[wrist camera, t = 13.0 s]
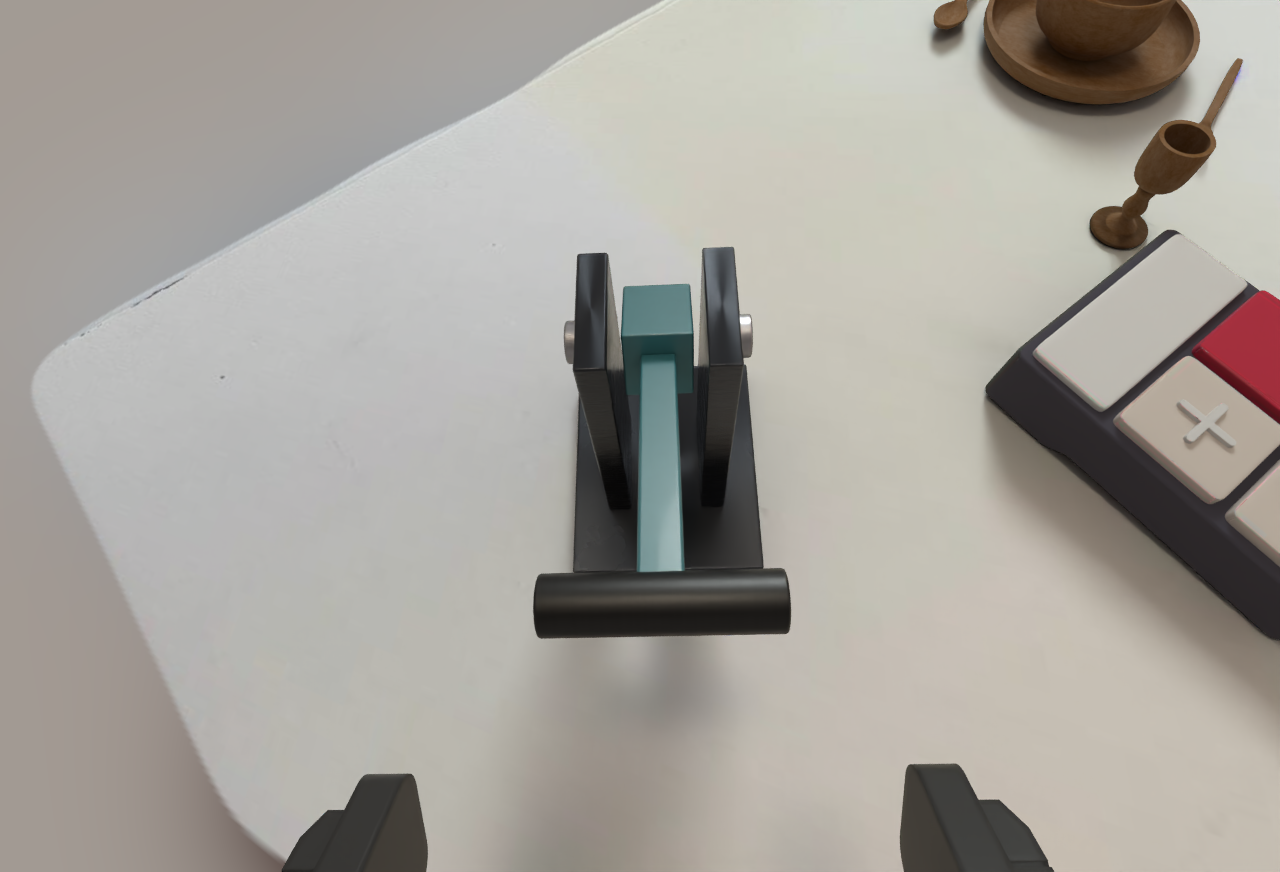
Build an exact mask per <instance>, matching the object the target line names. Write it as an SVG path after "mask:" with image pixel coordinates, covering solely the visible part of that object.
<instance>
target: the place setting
mask: <svg viewBox="0 0 1280 872" xmlns="http://www.w3.org/2000/svg"><path fill="white" fill-rule="evenodd" d="M967 1H968V0H955V1H952V2H949V3H946V4H943V5H942V6H940V7H939V8H938V9H937V10H936V11H935V14H934V24H935V26H936V27H938V28H941V29H950V28H953V27H955V26H957V25H959V24H961V23H962V22H963V21H964V20H965V19H966V17H967V14H968V10H967V5H966V4H967ZM984 36H985V39H986V43H987V46H988V48H989V50H990V52H991V54H992V56H993V57H994V58H995V60H996V61H997V63H998V64H999V65H1000V66H1001V67H1002V68H1003V69H1004V70H1005V71H1006V72H1007V73H1008V74H1009V75H1011V76H1012V77H1013V78H1014V79H1016V80H1017V81H1019V82H1020V83H1022V84H1023V85H1025V86H1027V87H1029V88H1031V89H1033V90H1035V91H1037V92H1040V93H1042V94H1044V95H1047V96H1050V97H1053V98H1057V99H1061V100H1065V101H1069V102H1076V103H1083V104H1114V103H1123V102H1128V101H1132V100H1137V99H1140V98H1143V97H1146V96H1149V95H1151V94H1153V93H1155V92H1157V91H1159V90H1161V89H1163V88H1165V87H1166V86H1168V85H1169V84H1171V83H1172V82H1173V81H1175V80H1176V79H1177V78H1178V77H1179V76H1180V75H1181V74H1182V73H1183V72H1184V71H1185V70H1186V69H1187V67H1188V66H1189V64H1190V63H1191V62H1192V60H1193V59H1194V58H1195V56H1196V53H1197V51H1198V48H1199V43H1200V32H1199V28H1198V25H1197V22H1196V20H1195V18H1194V16H1193V14H1192V13H1191V11H1190V10H1189V8H1188V7H1187V6H1186V5H1185V4H1184V3H1183V2H1182V1H1181V0H990V1H989V3H988V6H987V8H986V12H985V17H984ZM1242 61H1243V60H1242V59H1239V58H1238V59H1237V60H1236V61H1235V62H1234V63H1233V65H1232V66H1231V68H1230V70H1229V71H1228V73H1227V75H1226V77H1225V78H1224V80H1223V82H1222V84H1221V86H1220V88H1219V90H1218V92H1217V94H1216V96H1215V98H1214V100H1213V102H1212V104H1211V105H1210V107H1209V109H1208V111H1207V113H1206V115H1205V117H1204V119H1203V120H1202V121H1201V122H1200V123H1199V124H1198V123H1195V122H1192V121H1186V120H1175V121H1171V122H1168V123H1166V124H1164V125H1163V126H1162V127H1161V128H1160V130H1159V131H1158V132H1157V133H1156V135H1155V136H1154V137H1153V139H1152V140H1151V142H1150V143H1149V145H1148V146H1147V147H1146V149H1145V150H1144V152H1143V154H1142V155H1141V157H1140V159H1139V160H1138V162H1137V165H1136V167H1135V172H1134V176H1135V180H1136V183H1137V184H1138V185H1139V187H1138V190H1137V192H1136V193H1135V194H1134V195H1133V196H1131V197H1129V198H1128V199H1127V200H1126V201H1125V202H1124V204H1123V206H1122V207H1118V206H1109V207H1104V208H1101V209H1099V210H1098V211H1096V212H1095V213H1094V214H1093V216H1092V218H1091V221H1090V228H1091V231H1092V233H1093V234H1094V236H1095V237H1096V238H1097V239H1098V240H1100V241H1101V242H1102V243H1104V244H1106V245H1108V246H1111V247H1114V248H1119V249H1129V248H1134V247H1136V246H1138V245H1140V244H1141V243H1143V242H1144V241H1145V239H1146V238H1147V235H1148V227H1147V224H1146V223H1145V221H1144V220H1143V218H1142V217H1141V216H1140V215H1142V214H1143V213H1144V212H1145V211H1146V209H1147V207H1148V202H1149V200H1150V199H1151V198H1152V197H1153V196H1155V194H1167V193H1170V192H1173V191H1175V190H1177V189H1178V188H1180V187H1181V186H1183V185H1184V184H1185V183H1186V182H1187V181H1188V180H1189V179H1190V178H1191V177H1192V176H1193V175H1194V174H1195V173H1196V172H1197V171H1198V169H1199V168H1200V167H1201V166H1202V165H1203V164H1204V162H1205V161H1206V160H1207V159H1208V157H1209V156H1210V155H1211V153H1212V152H1213V151H1214V149H1215V147H1216V140H1215V137H1214V136H1213V132H1212V130H1211V124H1212V122H1213V120H1214V118H1215V116H1216V114H1217V112H1218V110H1219V108H1220V107H1221V105H1222V103H1223V101H1224V99H1225V97H1226V95H1227V94H1228V92H1229V90H1230V88H1231V86H1232V84H1233V82H1234V80H1235V78H1236V76H1237V74H1238V72H1239V70H1240V67H1241V65H1242Z"/></svg>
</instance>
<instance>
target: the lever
mask: <svg viewBox="0 0 1280 872" xmlns="http://www.w3.org/2000/svg"><path fill="white" fill-rule="evenodd" d="M621 343H622V355H623V366H624V377H625V388H626V394H627V395H640V402H639V462H638V523H637V572H594V573H551V574H540V575H539V576H538V577H537V580H536V584H535V590H534V603H533V614H534V625H535V631H536V634H537V636H538V637H539V638H541V639H543V638H596V637H649V636H702V635H755V634H787V633H788V632H789V629H790V624H791V600H790V590H789V583H788V578H787V574H786V572H785V570H784V569H782V568H769V569H725V570H685V563H684V539H683V515H682V491H681V467H680V443H679V419H678V395H677V394H679V393H693V391H694V333H693V319H692V305H691V292H690V285H689V284H673V285H648V286H625V287H624V288H623V305H622V325H621Z"/></svg>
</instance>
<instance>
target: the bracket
mask: <svg viewBox="0 0 1280 872" xmlns="http://www.w3.org/2000/svg"><path fill="white" fill-rule="evenodd" d="M752 347H753V329H752V319H751V316H750V314H740V313H739V302H738V290H737V278H736V266H735V254H734V248H733V247H721V248H703V250H702V275H701V303H700V331H699V360H698V366H694V391H693V393H679V394H677V395H678V419H679V443H680V467H681V491H682V515H683V539H684V563H685V570H725V569H763V567H764V566H763V554H762V543H761V531H760V519H759V508H758V496H757V485H756V473H755V462H754V450H753V438H752V427H751V415H750V404H749V392H748V380H747V369H746V365H744V361H743V358H749V357H751V355H752ZM564 348H565V356H566V360H567V363H568V364H573V373H574V376H575V380H576V384H577V388H578V392H579V412H578V442H577V471H576V501H575V531H574V561H573V572H574V573H594V572H637V523H638V462H639V402H640V395H627V394H626V388H625V377H624V366H623V357H622V350H621V343H620V336H619V329H618V322H617V314H616V307H615V300H614V293H613V286H612V279H611V272H610V265H609V258H608V254H607V253H591V254H578V256H577V273H576V299H575V321H567V322H566V323H565V326H564Z"/></svg>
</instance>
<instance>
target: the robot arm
mask: <svg viewBox="0 0 1280 872" xmlns="http://www.w3.org/2000/svg"><path fill="white" fill-rule="evenodd" d="M900 850H901V858H902V864H903V869H904V872H1054V870H1053V869H1052V867H1049V865H1048V860H1047V858H1046V857H1045V855H1044V853H1043V851H1042V850H1041V848H1040V846H1039V844H1038V843H1037V841H1036V839H1035V837H1034V836H1033V834H1032V832H1031V831H1030V829H1029V827H1028V826H1027V825H1025V824H1024V823H1023V822H1022V821H1021V820H1020V819H1019V818H1018V817H1017V816H1016V815H1015V814H1014V813H1013V812H1012V811H1011V810H1009V809H1008V808H1007V807H1006V806H1005V805H1004V804H1003V803H1002V802H1001V801H1000V800H978V798H977V796H976V794H975V792H974V790H973V788H972V787H971V785H970V783H969V781H968V779H967V777H966V775H965V773H964V771H963V770H962V768H961V767H960V766H959V765H958V764H910V765H908V767H907V769H906V775H905V785H904V796H903V807H902V818H901V829H900ZM427 858H428V847H427V839H426V834H425V828H424V823H423V818H422V812H421V807H420V801H419V796H418V791H417V785H416V781H415V778H414V776H413V775H412V774H367V775H364V776H363V777H362V778H361V780H360V781H359V783H358V784H357V786H356V788H355V790H354V792H353V794H352V796H351V798H350V800H349V802H348V804H347V806H346V808H345V810H327V811H326V812H325V813H324V814H323V815H322V816H321V817H320V818H319V819H318V820H317V821H316V822H315V823H314V824H313V825H312V826H311V827H310V828H309V829H308V830H307V831H306V832H305V833H304V834H303V835H302V836H301V837H300V838H299V840H298V842H297V844H296V845H295V847H294V849H293V851H292V852H291V854H290V856H289V858H288V860H287V861H286V863H285V865H284V867H283V869H282V872H426V869H427Z"/></svg>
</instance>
